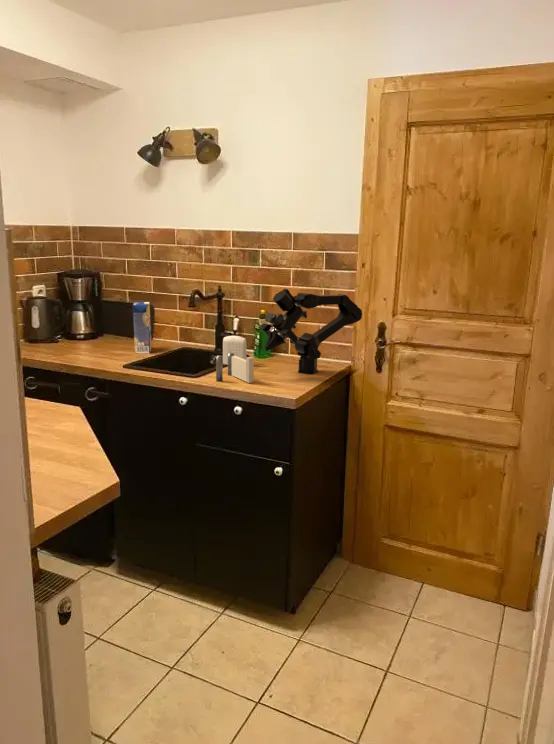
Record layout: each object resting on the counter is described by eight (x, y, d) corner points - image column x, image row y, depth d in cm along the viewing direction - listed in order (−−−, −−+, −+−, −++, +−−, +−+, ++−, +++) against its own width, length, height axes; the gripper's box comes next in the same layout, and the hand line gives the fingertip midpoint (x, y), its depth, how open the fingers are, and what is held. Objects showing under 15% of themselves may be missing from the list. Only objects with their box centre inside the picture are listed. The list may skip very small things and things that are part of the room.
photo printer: (247, 364, 239) (248, 335, 236) (244, 367, 235) (244, 337, 232) (225, 362, 242) (225, 334, 239) (221, 365, 238) (221, 335, 235)
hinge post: (235, 374, 223) (235, 353, 221) (231, 375, 221) (231, 354, 219) (229, 373, 224) (229, 352, 222) (226, 374, 222) (226, 353, 220)
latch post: (223, 380, 213) (223, 355, 211) (220, 381, 211) (220, 356, 209) (218, 379, 214) (218, 355, 212) (214, 381, 212) (214, 356, 210)
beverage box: (151, 348, 269) (149, 302, 264) (150, 353, 259) (148, 305, 254) (136, 348, 268) (134, 302, 263) (134, 353, 258) (132, 305, 253)
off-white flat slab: (231, 375, 220) (231, 352, 218) (235, 374, 221) (235, 351, 219) (248, 383, 209) (248, 358, 207) (253, 382, 210) (253, 358, 208)
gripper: (264, 302, 221) (239, 332, 218) (291, 308, 206) (265, 340, 203) (281, 321, 227) (257, 350, 224) (308, 327, 212) (283, 359, 209)
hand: (265, 350), depth 215 cm, fingers closed
